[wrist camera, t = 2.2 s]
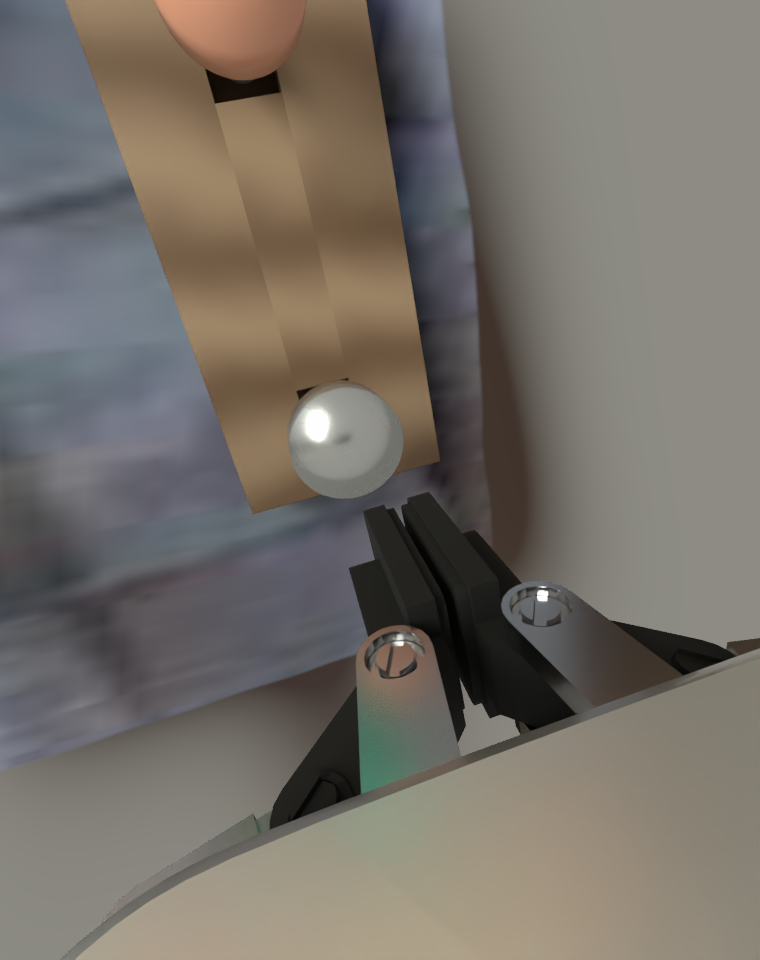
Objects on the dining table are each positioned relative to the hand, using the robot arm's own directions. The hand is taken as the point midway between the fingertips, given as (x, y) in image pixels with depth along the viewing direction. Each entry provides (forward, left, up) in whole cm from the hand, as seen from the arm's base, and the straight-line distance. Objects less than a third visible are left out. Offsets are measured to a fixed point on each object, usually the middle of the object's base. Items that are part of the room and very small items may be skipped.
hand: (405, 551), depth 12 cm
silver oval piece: (0, 0, -16) cm, 16 cm away
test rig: (+6, +5, -21) cm, 22 cm away
